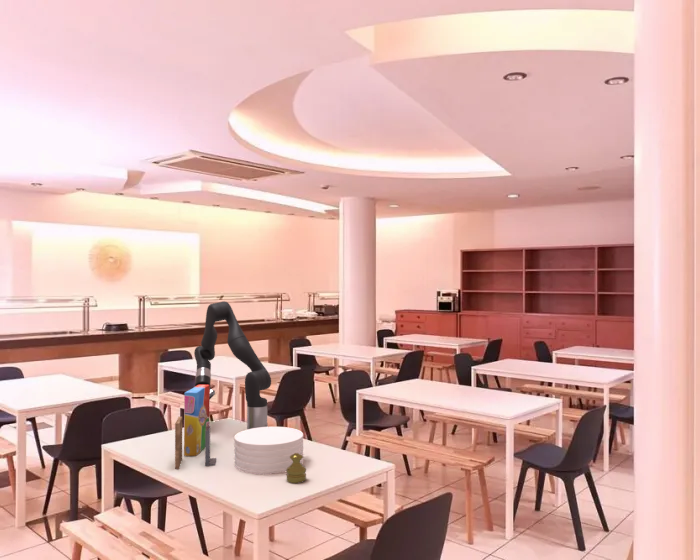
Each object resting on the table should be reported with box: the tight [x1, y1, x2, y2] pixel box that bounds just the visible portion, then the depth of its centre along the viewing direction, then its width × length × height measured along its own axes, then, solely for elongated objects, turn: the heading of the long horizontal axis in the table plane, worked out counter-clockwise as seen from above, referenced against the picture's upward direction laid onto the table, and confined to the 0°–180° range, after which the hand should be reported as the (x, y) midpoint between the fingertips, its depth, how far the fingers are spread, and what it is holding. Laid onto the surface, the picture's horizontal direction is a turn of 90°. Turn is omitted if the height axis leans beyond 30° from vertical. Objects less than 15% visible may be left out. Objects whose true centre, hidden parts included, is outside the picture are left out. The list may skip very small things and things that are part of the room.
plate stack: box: [233, 426, 304, 475], centre depth 229 cm, size 28×28×12 cm
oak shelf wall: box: [174, 416, 183, 470], centre depth 227 cm, size 2×12×18 cm, turn 11°
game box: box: [183, 384, 211, 457], centre depth 248 cm, size 21×6×27 cm, turn 179°
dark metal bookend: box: [204, 425, 217, 467], centre depth 229 cm, size 4×8×14 cm, turn 11°
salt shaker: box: [285, 453, 307, 484], centre depth 208 cm, size 7×7×10 cm
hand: (201, 408), depth 270 cm, fingers closed
